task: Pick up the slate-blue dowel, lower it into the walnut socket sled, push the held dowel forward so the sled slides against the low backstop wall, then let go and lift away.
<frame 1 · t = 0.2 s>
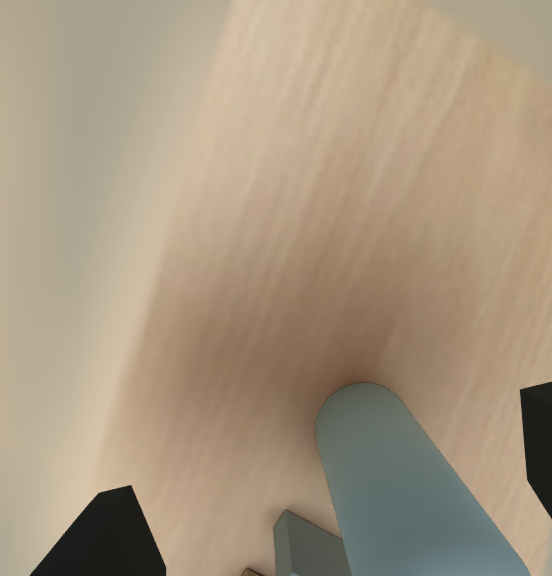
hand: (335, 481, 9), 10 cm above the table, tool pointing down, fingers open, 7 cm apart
dowel: (362, 428, 20), on the table
backstop wall: (356, 559, 21), on the table
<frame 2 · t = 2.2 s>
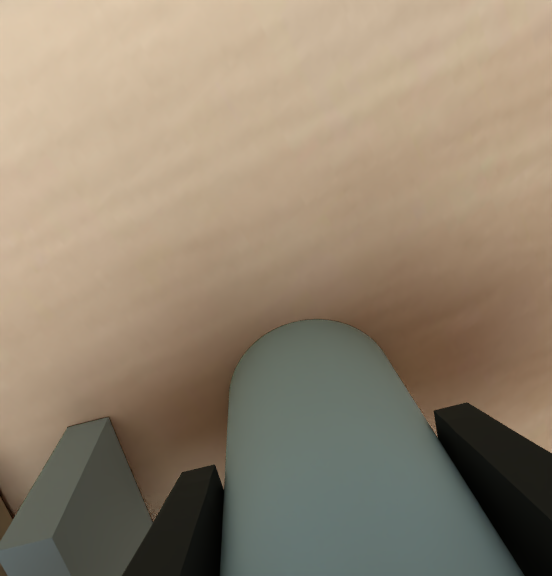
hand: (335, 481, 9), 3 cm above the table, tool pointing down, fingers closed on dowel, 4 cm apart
dowel: (312, 396, 11), on the table, touching gripper
backstop wall: (142, 547, 12), on the table
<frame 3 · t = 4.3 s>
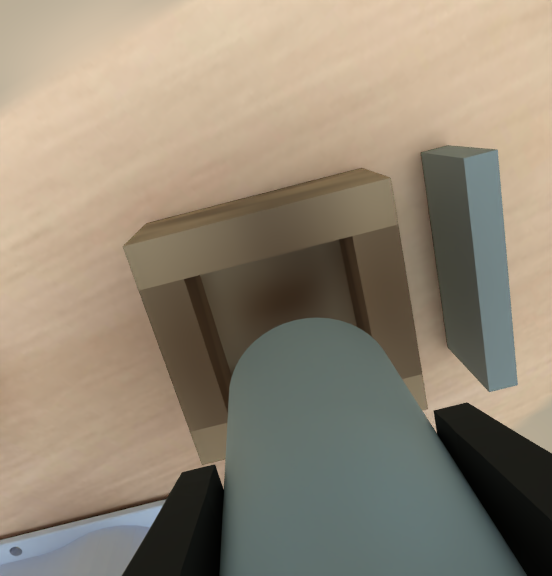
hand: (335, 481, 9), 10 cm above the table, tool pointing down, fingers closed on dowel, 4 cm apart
socket sled: (283, 314, 17), point 2 cm above the table, slide at 0.0 cm
dowel: (312, 395, 11), point 7 cm above the table, touching gripper
backstop wall: (447, 253, 18), on the table
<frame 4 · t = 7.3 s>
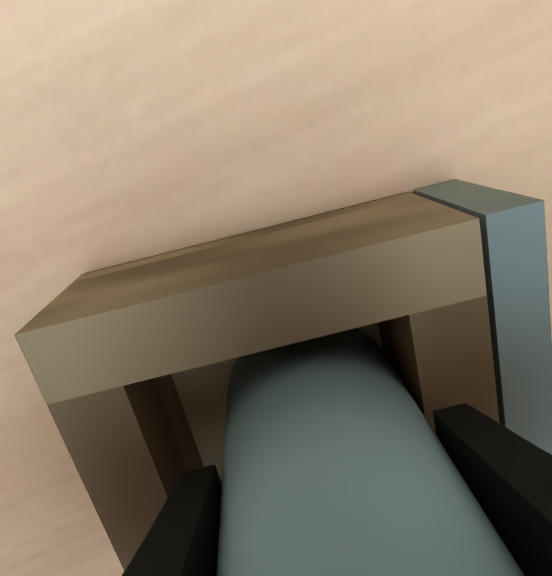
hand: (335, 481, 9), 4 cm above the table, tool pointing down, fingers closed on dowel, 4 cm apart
socket sled: (289, 416, 11), point 2 cm above the table, slide at 2.0 cm, touching dowel
dowel: (311, 394, 11), point 1 cm above the table, touching gripper, socket sled
backstop wall: (453, 334, 13), on the table
when the fingers open (4 cm above the table, at t = 7.3 s): dowel stays where it is, resting on socket sled.
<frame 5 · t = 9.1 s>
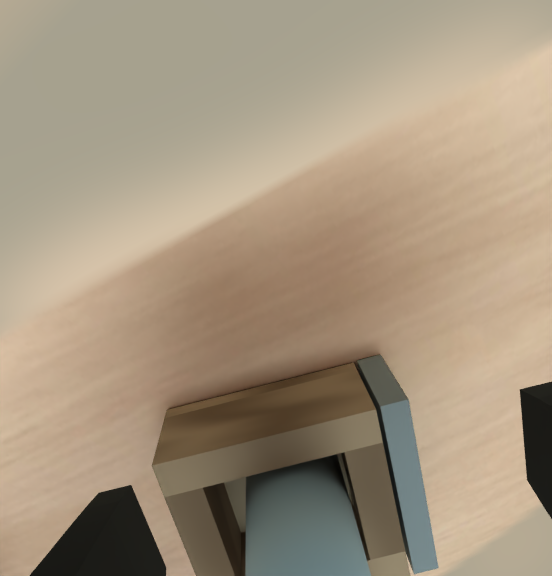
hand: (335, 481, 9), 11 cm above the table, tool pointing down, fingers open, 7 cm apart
socket sled: (286, 491, 19), point 2 cm above the table, slide at 2.0 cm, touching dowel
dowel: (292, 469, 20), point 1 cm above the table, touching socket sled
backstop wall: (384, 436, 21), on the table
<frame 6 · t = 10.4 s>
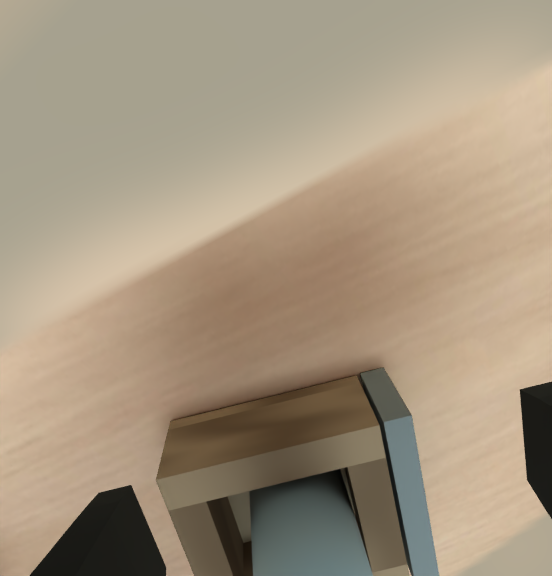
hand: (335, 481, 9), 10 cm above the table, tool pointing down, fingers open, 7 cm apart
socket sled: (288, 503, 19), point 2 cm above the table, slide at 2.0 cm, touching dowel
dowel: (295, 481, 20), point 1 cm above the table, touching socket sled
backstop wall: (387, 447, 21), on the table
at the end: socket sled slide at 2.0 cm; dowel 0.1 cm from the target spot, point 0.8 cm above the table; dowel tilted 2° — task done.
